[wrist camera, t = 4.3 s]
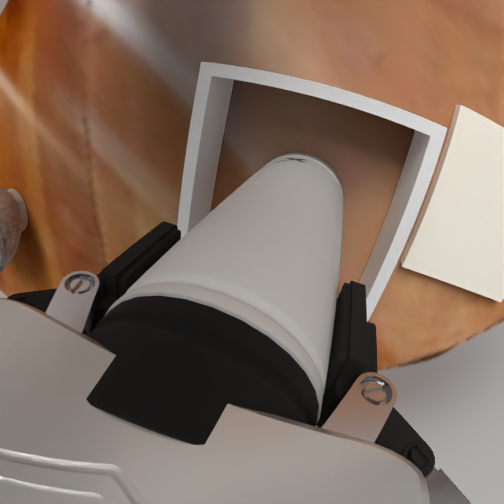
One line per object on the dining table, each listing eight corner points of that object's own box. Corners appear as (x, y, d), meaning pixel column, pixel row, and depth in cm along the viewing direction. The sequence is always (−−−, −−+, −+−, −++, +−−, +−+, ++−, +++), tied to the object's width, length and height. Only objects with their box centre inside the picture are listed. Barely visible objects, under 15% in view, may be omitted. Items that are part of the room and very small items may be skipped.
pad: (455, 104, 16) (460, 105, 15) (555, 164, 14) (562, 167, 14) (400, 260, 22) (401, 266, 21) (497, 295, 20) (501, 302, 20)
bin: (225, 67, 19) (201, 61, 16) (429, 123, 17) (447, 128, 14) (193, 263, 27) (172, 288, 24) (353, 315, 25) (352, 349, 22)
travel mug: (285, 129, 20) (-5, 325, 3) (362, 192, 20) (363, 540, 3) (235, 197, 23) (19, 425, 6) (306, 253, 24) (203, 540, 7)
